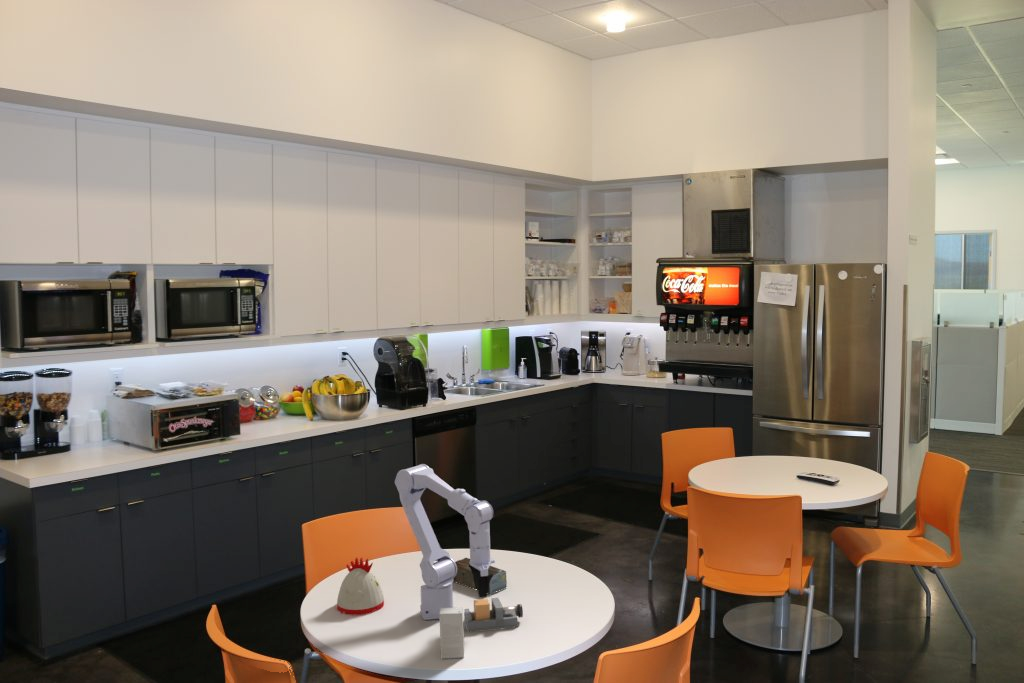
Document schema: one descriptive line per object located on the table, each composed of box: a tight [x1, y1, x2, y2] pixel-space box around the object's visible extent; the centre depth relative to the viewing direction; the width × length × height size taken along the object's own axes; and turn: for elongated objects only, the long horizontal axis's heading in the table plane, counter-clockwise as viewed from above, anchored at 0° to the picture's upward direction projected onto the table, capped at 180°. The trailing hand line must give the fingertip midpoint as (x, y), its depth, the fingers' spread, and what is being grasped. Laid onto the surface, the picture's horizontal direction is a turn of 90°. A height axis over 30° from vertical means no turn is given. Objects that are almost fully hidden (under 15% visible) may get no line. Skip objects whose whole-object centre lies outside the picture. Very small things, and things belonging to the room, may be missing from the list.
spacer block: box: [473, 598, 491, 621], centre depth 239 cm, size 4×4×6 cm
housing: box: [463, 597, 519, 633], centre depth 239 cm, size 14×8×6 cm, turn 101°
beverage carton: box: [453, 557, 508, 595], centre depth 270 cm, size 8×19×7 cm, turn 46°
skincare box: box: [439, 606, 465, 660], centre depth 220 cm, size 6×4×12 cm
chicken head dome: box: [336, 557, 385, 616], centre depth 254 cm, size 14×14×15 cm
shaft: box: [503, 603, 524, 618], centre depth 240 cm, size 7×4×4 cm, turn 101°
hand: (481, 592), depth 238 cm, fingers open, 6 cm apart
